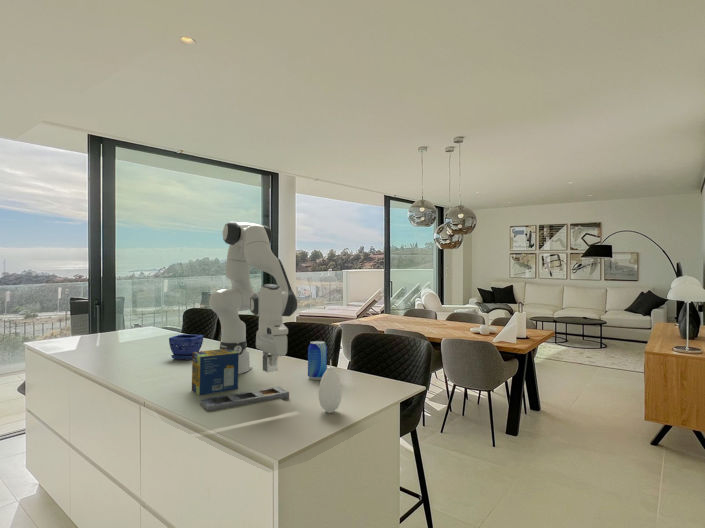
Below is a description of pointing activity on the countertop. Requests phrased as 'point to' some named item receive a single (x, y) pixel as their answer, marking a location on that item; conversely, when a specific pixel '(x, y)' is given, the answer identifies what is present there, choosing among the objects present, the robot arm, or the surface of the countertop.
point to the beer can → (317, 360)
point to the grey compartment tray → (244, 398)
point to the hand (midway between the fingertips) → (270, 364)
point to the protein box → (214, 371)
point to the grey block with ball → (267, 366)
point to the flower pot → (185, 345)
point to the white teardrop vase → (330, 390)
